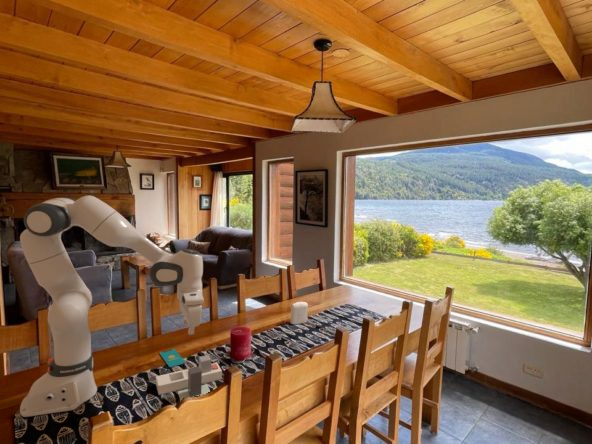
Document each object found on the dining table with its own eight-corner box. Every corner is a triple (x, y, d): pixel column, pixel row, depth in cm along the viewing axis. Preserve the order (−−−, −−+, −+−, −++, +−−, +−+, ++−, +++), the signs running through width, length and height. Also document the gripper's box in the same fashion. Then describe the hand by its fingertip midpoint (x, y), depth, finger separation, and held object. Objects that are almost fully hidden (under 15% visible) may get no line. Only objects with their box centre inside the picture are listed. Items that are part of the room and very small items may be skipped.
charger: (190, 397, 124) (190, 374, 123) (188, 391, 128) (188, 368, 127) (201, 394, 126) (201, 371, 125) (198, 388, 130) (199, 366, 129)
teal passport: (169, 367, 143) (158, 352, 155) (169, 369, 143) (158, 354, 155) (186, 362, 148) (174, 348, 159) (186, 364, 148) (174, 350, 159)
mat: (181, 403, 121) (181, 402, 121) (177, 392, 127) (177, 391, 127) (211, 394, 127) (211, 394, 127) (206, 385, 133) (206, 384, 133)
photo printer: (304, 320, 201) (305, 299, 199) (308, 322, 197) (309, 302, 195) (289, 322, 196) (290, 301, 195) (292, 325, 192) (293, 304, 191)
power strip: (158, 394, 125) (158, 373, 124) (156, 384, 131) (156, 364, 130) (221, 378, 137) (222, 359, 136) (216, 370, 143) (217, 351, 142)
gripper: (175, 285, 132) (174, 319, 134) (186, 302, 115) (184, 341, 116) (192, 284, 136) (191, 317, 137) (205, 300, 118) (203, 338, 119)
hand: (188, 328), depth 126 cm, fingers open, 8 cm apart
